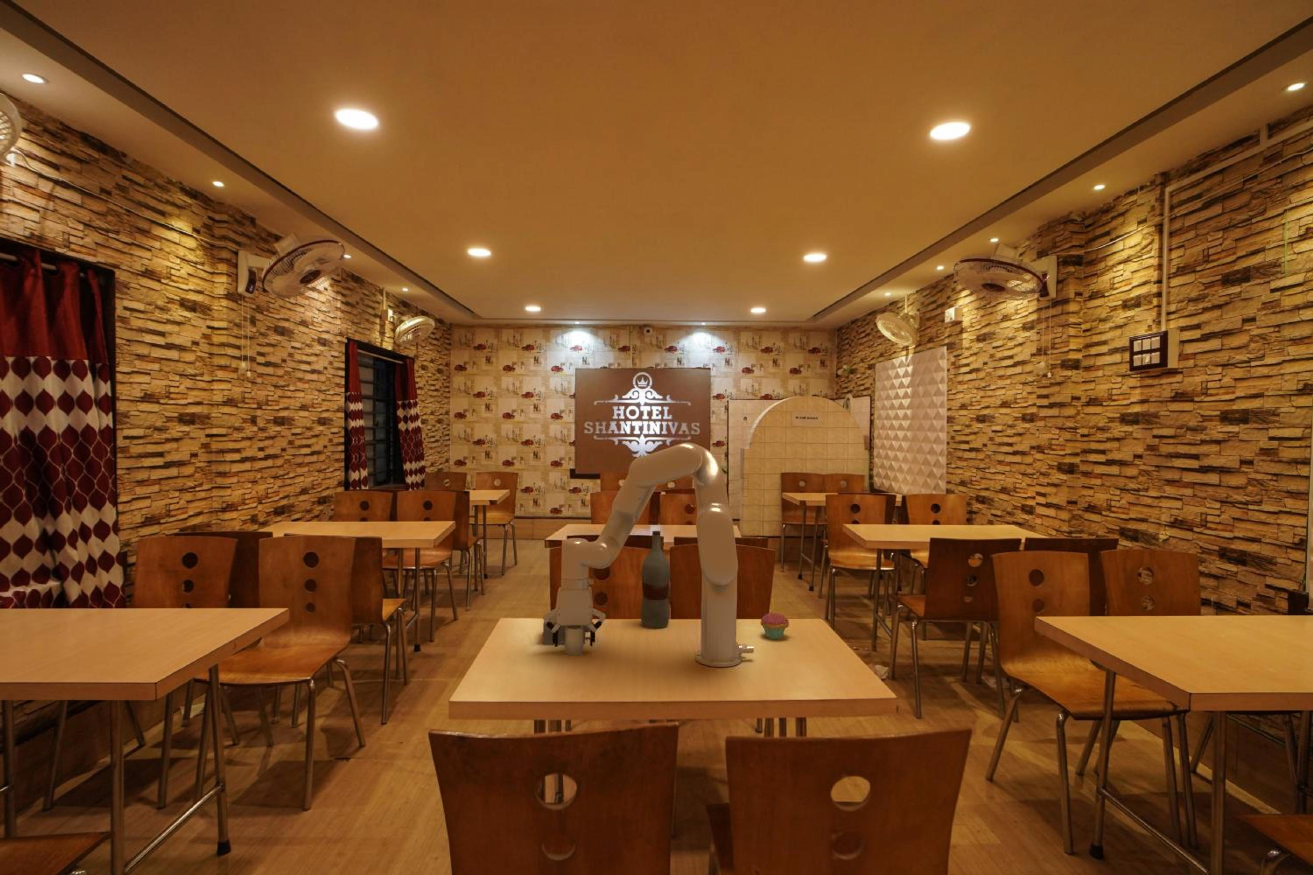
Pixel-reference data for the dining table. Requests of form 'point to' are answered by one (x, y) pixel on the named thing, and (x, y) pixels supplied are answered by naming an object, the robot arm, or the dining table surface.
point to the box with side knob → (561, 633)
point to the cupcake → (774, 624)
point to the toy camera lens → (573, 640)
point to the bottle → (655, 587)
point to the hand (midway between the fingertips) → (573, 645)
